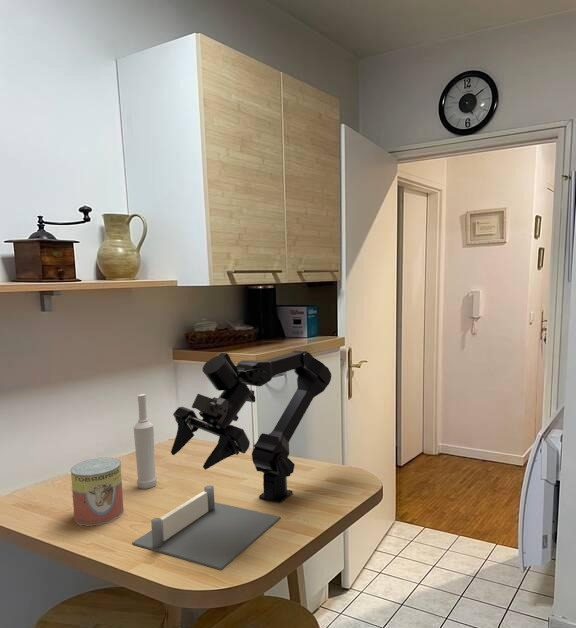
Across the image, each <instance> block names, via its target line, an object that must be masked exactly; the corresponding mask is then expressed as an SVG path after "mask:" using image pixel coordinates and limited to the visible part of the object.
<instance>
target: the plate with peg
mask: <svg viewBox="0 0 576 628" xmlns="http://www.w3.org/2000/svg"><path fill="white" fill-rule="evenodd" d="M214 503H215V509H214V510H211V511H208V512H206V513H205V514H204V515H202V516H201V517H199V518H198V519H196V520H195V521H193V522H192V523H190V524H189V525H187V526H186V527H184V528H183V529H181V530H180V531H178V532H177V533H176V534H174V535H173V536H171V537H170V538H168V539H167V540H165V541H162V525H161V517H155V518H152V519H150V522H151V524H150V525H151V530H149V531H148V532H147V533H145V534H144V535H142V536H140V537H139V538H137V539H136V540H134V541H132V543H131V544H132V545H134V546H136V547H141V548H143V547H144V549H147V550H151V551H154V552H157V553H161V554H165V555H168V556H172V557H175V558H178V559H182V560H186V561H189V562H192V563H195V564H199V565H202V566H205V567H210V568H212V569H216V570H220V571H222V570H223V569H224V568H226V567H227V565H229V564H230V563H231V562H232V561H234V559H236V558H237V557H238V556H239V555H240V554H241V553H242V552H244V551H245V550H246V549H247V548H249V546H251V545H252V544H253V543H254V542H255V541H256V540H258V538H260V537H261V536H262V535H263V534H264V533H265V532H266V531H268V530H269V529H271V527H273V525H275V524H276V523H277V522H278V521H279V520H280V519H282V518H281V515H277V514H276V515H275V514H270V513H267V512H262V511H258V510H253V509H248V508H242V507H238V506H234V505H229V504H226V503H225V504H224V503H220V502H216V501H214Z"/></svg>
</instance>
